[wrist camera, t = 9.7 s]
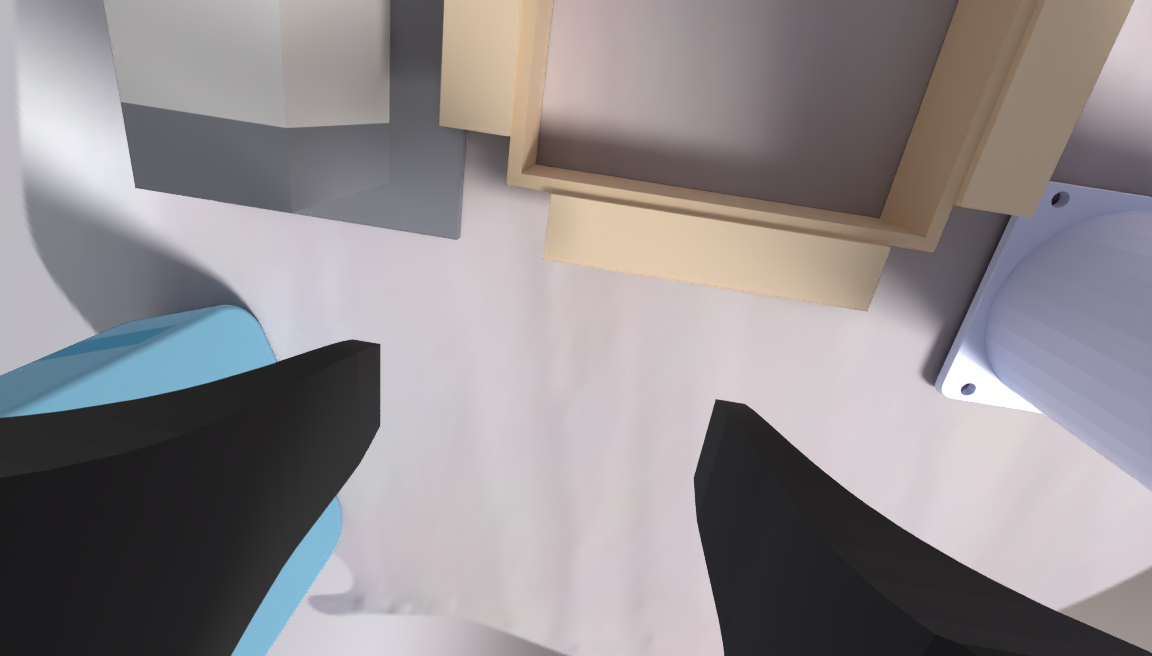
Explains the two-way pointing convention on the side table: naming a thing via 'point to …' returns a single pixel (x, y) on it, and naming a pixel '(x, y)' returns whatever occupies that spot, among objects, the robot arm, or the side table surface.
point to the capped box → (254, 97)
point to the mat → (412, 137)
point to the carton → (784, 231)
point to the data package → (164, 364)
